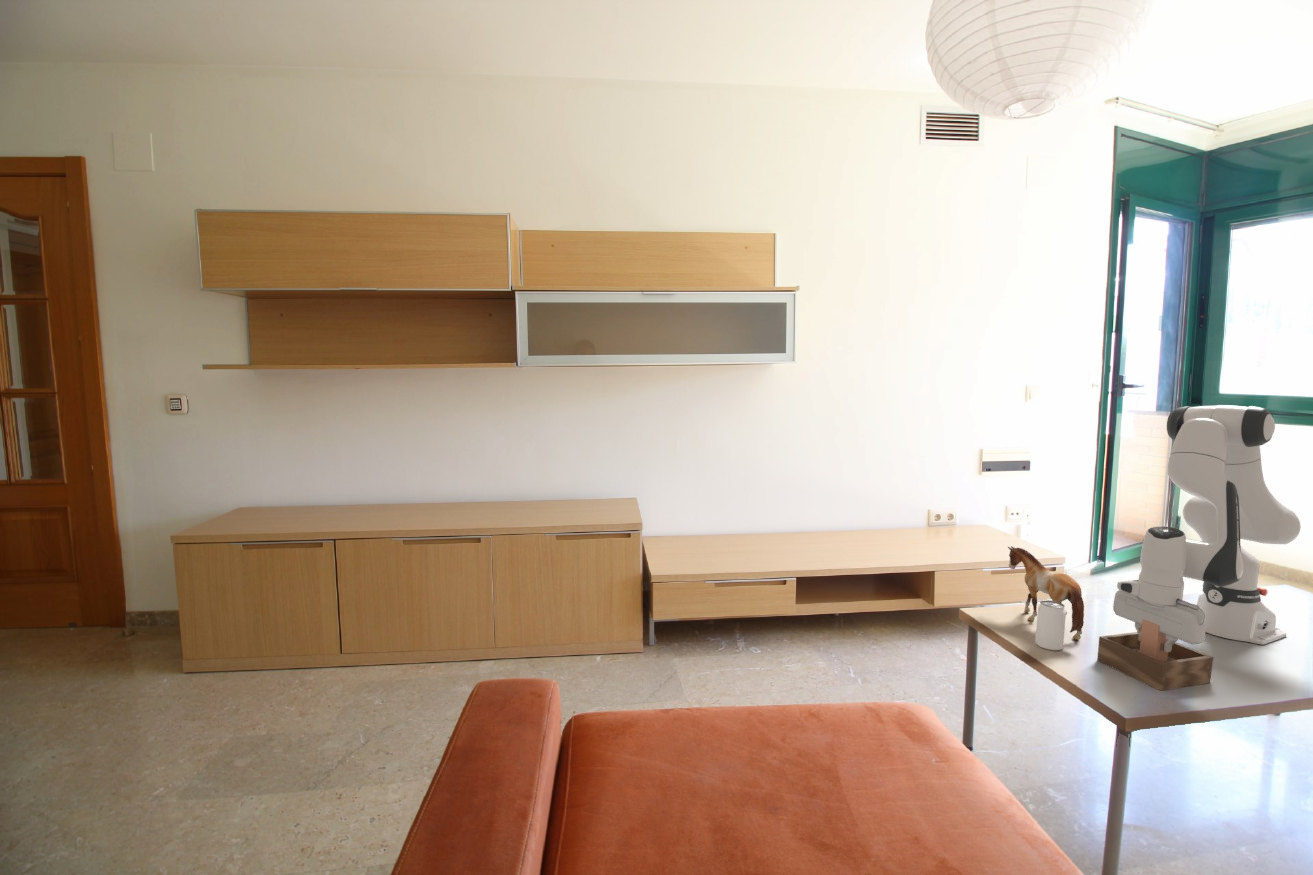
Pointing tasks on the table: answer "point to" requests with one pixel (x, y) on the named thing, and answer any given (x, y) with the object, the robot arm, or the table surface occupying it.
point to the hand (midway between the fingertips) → (1154, 646)
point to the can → (1050, 625)
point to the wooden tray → (1155, 662)
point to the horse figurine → (1049, 587)
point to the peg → (1152, 641)
